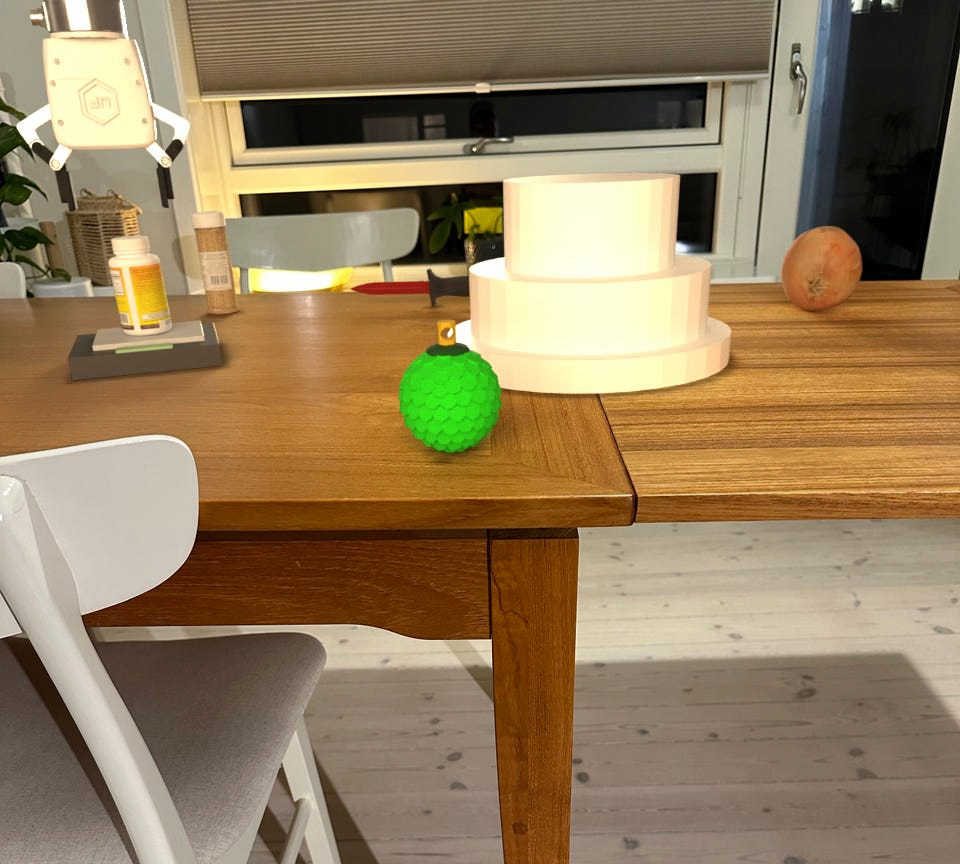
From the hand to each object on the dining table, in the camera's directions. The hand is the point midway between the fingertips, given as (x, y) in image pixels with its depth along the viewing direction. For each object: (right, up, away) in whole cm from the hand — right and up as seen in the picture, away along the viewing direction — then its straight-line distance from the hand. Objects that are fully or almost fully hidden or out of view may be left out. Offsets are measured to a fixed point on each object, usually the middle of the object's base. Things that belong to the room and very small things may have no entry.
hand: (120, 208), depth 105 cm
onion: (+83, -5, +18) cm, 85 cm away
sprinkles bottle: (+2, 0, +35) cm, 35 cm away
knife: (+33, +1, +33) cm, 46 cm away
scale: (+1, -15, +7) cm, 16 cm away
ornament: (+37, -32, -28) cm, 57 cm away
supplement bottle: (+1, -12, +6) cm, 13 cm away
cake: (+51, -17, -1) cm, 54 cm away
